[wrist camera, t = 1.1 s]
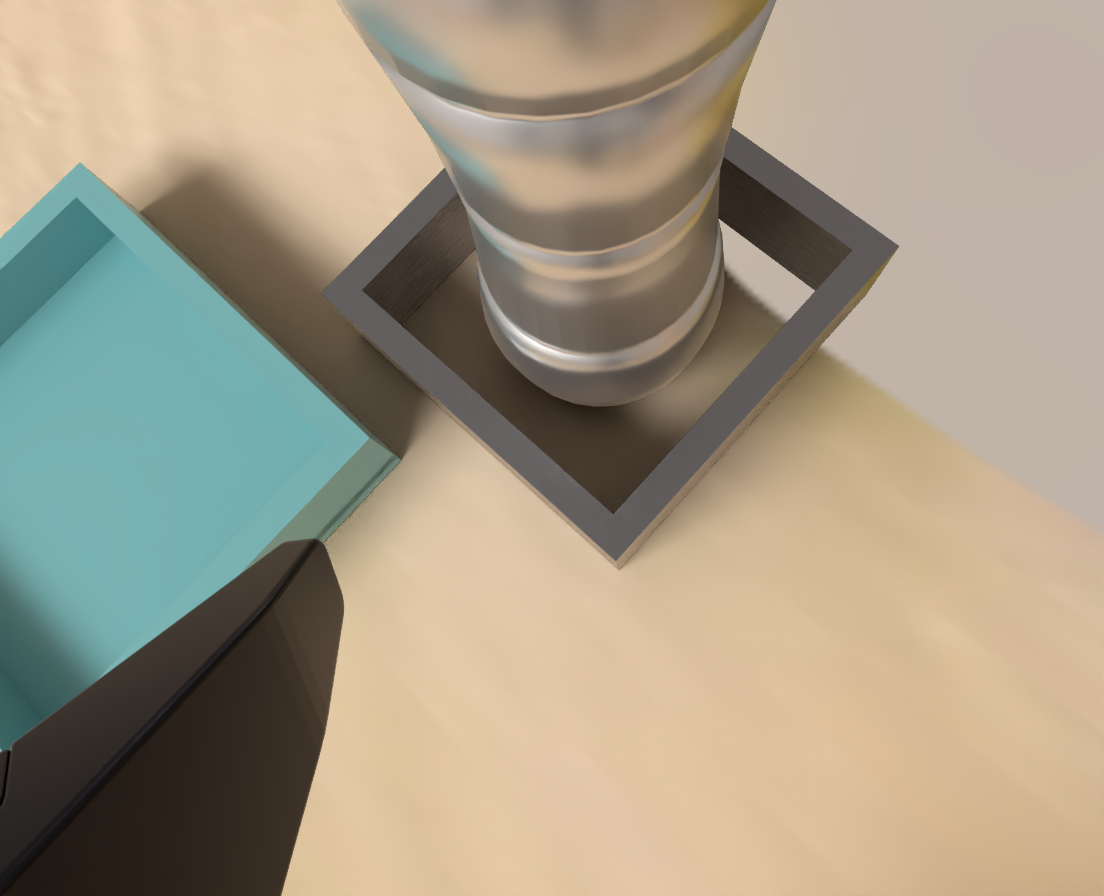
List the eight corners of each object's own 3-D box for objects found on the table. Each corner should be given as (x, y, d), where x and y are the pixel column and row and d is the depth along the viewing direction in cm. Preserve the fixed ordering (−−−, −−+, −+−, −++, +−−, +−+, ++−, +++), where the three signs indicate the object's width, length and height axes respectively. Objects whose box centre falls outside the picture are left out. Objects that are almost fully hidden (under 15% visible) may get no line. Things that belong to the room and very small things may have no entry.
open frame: (618, 570, 22) (615, 561, 19) (359, 333, 24) (321, 293, 21) (865, 295, 23) (899, 246, 20) (592, 94, 25) (586, 24, 22)
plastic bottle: (486, 419, 23) (-315, -668, 4) (508, 209, 25) (9, -1375, 5) (711, 431, 22) (1193, -880, 3) (719, 213, 24) (1077, -1642, 4)
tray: (86, 792, 22) (9, 815, 19) (-152, 493, 25) (-250, 476, 22) (401, 459, 23) (369, 437, 20) (138, 210, 26) (80, 162, 23)
